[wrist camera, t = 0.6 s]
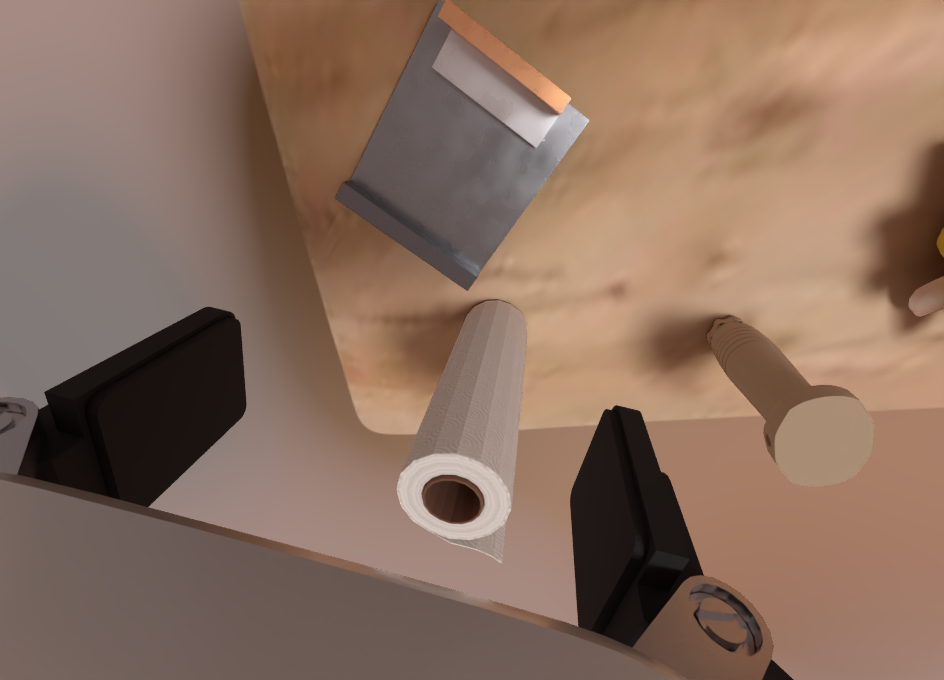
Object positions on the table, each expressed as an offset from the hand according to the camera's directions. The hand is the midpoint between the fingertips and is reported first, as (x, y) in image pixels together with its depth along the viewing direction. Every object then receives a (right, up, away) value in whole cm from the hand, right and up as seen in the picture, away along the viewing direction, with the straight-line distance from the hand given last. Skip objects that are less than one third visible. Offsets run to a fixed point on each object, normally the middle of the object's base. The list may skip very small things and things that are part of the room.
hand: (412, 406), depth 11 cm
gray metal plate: (0, +16, +24) cm, 29 cm away
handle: (+24, +2, +27) cm, 36 cm away
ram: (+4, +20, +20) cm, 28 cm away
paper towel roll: (+4, +2, +30) cm, 31 cm away
